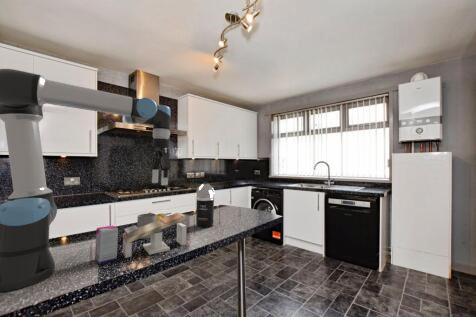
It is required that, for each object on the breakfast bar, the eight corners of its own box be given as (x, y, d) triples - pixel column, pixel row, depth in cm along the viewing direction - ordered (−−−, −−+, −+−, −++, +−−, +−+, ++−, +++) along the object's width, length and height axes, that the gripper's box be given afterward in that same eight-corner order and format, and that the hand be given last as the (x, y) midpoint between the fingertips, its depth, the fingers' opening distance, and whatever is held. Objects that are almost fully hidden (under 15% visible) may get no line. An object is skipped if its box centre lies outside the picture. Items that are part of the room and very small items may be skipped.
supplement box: (117, 259, 81) (118, 227, 81) (99, 264, 77) (100, 231, 77) (112, 254, 85) (113, 224, 85) (94, 259, 81) (95, 227, 81)
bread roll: (166, 222, 132) (166, 209, 132) (173, 226, 124) (174, 212, 125) (144, 226, 123) (144, 212, 123) (150, 230, 116) (151, 215, 116)
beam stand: (126, 259, 80) (127, 237, 81) (121, 251, 88) (122, 230, 89) (187, 245, 95) (188, 226, 95) (179, 239, 103) (179, 221, 103)
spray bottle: (212, 228, 121) (213, 182, 122) (194, 228, 121) (194, 182, 122) (214, 223, 132) (215, 181, 132) (197, 223, 132) (198, 181, 132)
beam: (127, 245, 81) (125, 235, 81) (123, 239, 88) (121, 229, 88) (187, 220, 95) (185, 211, 95) (179, 216, 102) (177, 208, 102)
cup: (148, 239, 102) (149, 217, 103) (133, 238, 104) (133, 216, 104) (158, 233, 111) (159, 213, 111) (144, 232, 112) (144, 213, 113)
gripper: (179, 137, 96) (177, 185, 95) (160, 141, 116) (158, 181, 115) (162, 135, 91) (160, 186, 91) (145, 140, 111) (143, 182, 110)
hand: (159, 184), depth 103 cm, fingers open, 13 cm apart
